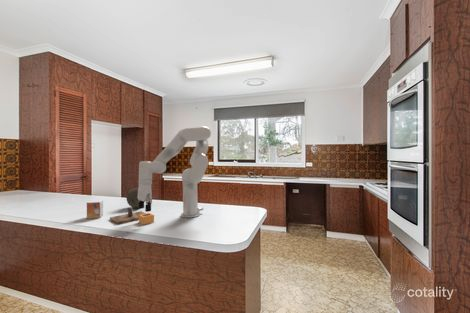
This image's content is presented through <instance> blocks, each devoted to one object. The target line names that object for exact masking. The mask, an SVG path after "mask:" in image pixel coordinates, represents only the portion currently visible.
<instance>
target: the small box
mask: <svg viewBox="0 0 470 313" xmlns="http://www.w3.org/2000/svg"><path fill="white" fill-rule="evenodd" d="M102 217H104V200H89V201H87V202H86V219H100V218H102Z"/></svg>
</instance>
